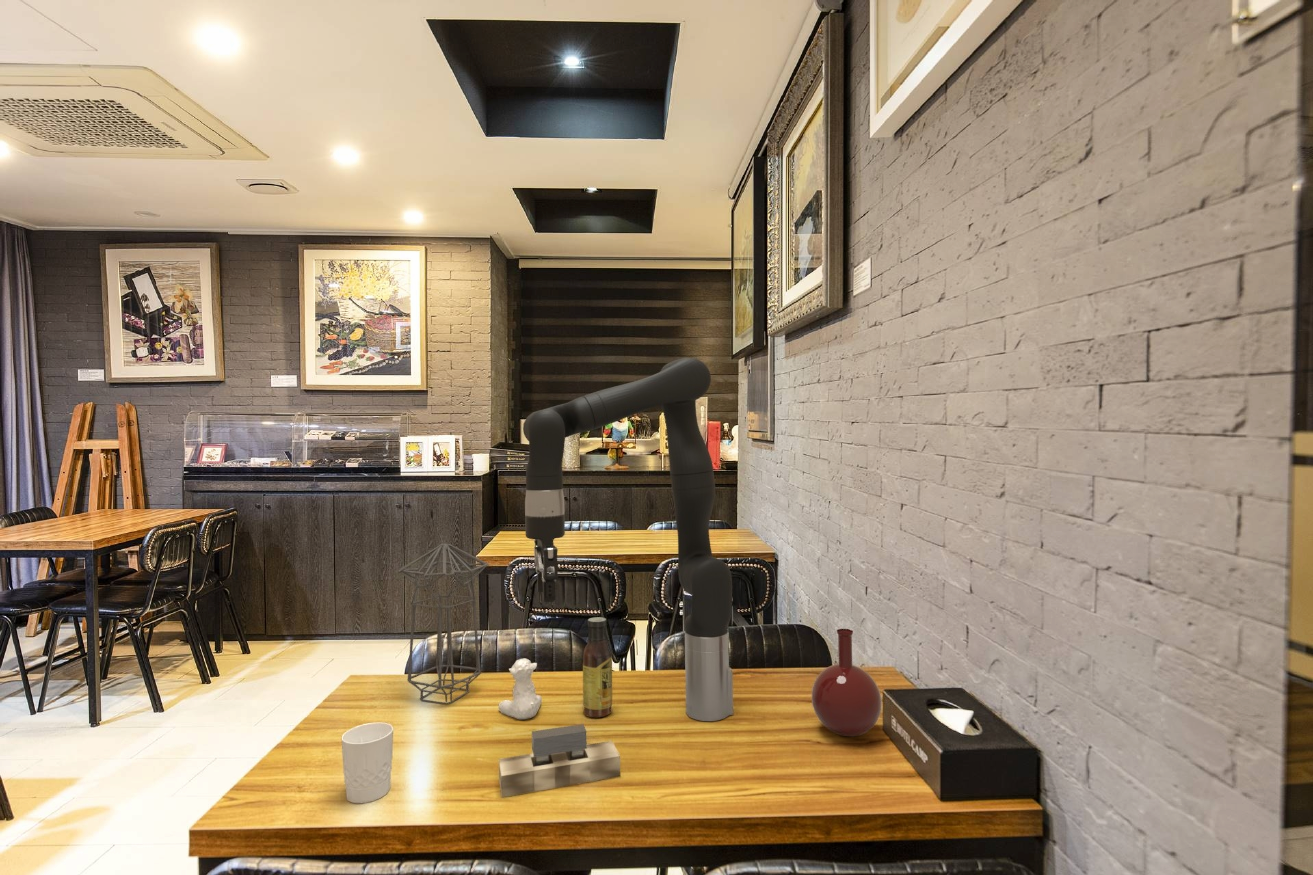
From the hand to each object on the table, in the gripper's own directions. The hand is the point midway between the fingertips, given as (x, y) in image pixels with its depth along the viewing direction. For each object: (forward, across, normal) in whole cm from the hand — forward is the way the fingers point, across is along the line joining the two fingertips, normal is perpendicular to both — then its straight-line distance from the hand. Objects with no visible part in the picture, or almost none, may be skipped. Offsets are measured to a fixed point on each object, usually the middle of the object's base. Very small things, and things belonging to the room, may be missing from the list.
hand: (546, 596), depth 124 cm
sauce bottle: (+28, +10, -12) cm, 32 cm away
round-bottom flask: (+28, -16, -56) cm, 65 cm away
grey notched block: (+28, -14, 0) cm, 31 cm away
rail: (+28, -14, 0) cm, 31 cm away
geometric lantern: (+28, +32, +19) cm, 47 cm away
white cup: (+28, -8, +31) cm, 43 cm away
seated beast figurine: (+28, +15, +3) cm, 32 cm away
